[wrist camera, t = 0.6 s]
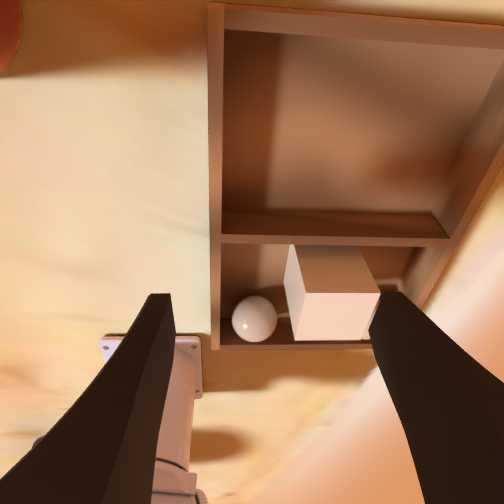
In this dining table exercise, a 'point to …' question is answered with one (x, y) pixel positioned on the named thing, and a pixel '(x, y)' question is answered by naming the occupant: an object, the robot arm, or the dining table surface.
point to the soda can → (9, 30)
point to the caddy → (343, 149)
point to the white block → (329, 292)
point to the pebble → (254, 318)
